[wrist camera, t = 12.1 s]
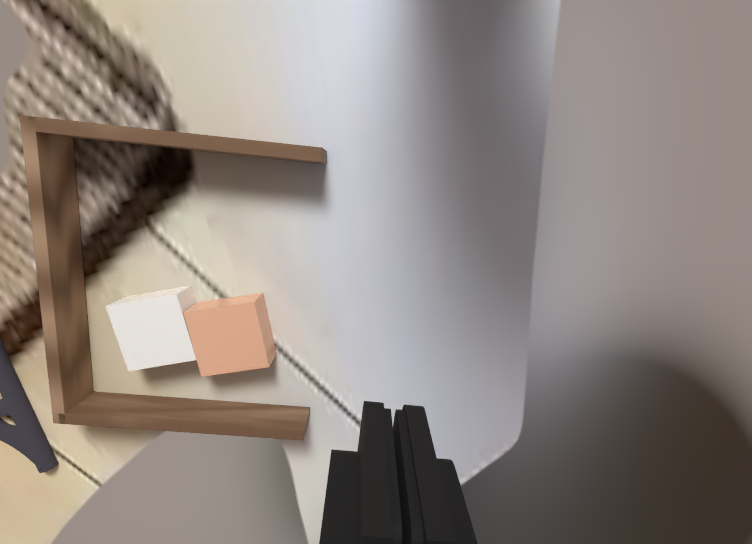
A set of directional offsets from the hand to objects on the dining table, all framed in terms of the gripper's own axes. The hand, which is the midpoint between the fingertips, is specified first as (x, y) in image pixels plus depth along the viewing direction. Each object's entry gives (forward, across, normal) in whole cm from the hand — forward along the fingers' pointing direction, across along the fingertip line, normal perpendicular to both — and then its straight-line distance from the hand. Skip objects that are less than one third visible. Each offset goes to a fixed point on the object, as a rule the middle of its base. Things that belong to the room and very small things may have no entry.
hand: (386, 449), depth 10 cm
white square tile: (+24, +18, +8) cm, 31 cm away
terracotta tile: (+24, +12, +8) cm, 28 cm away
